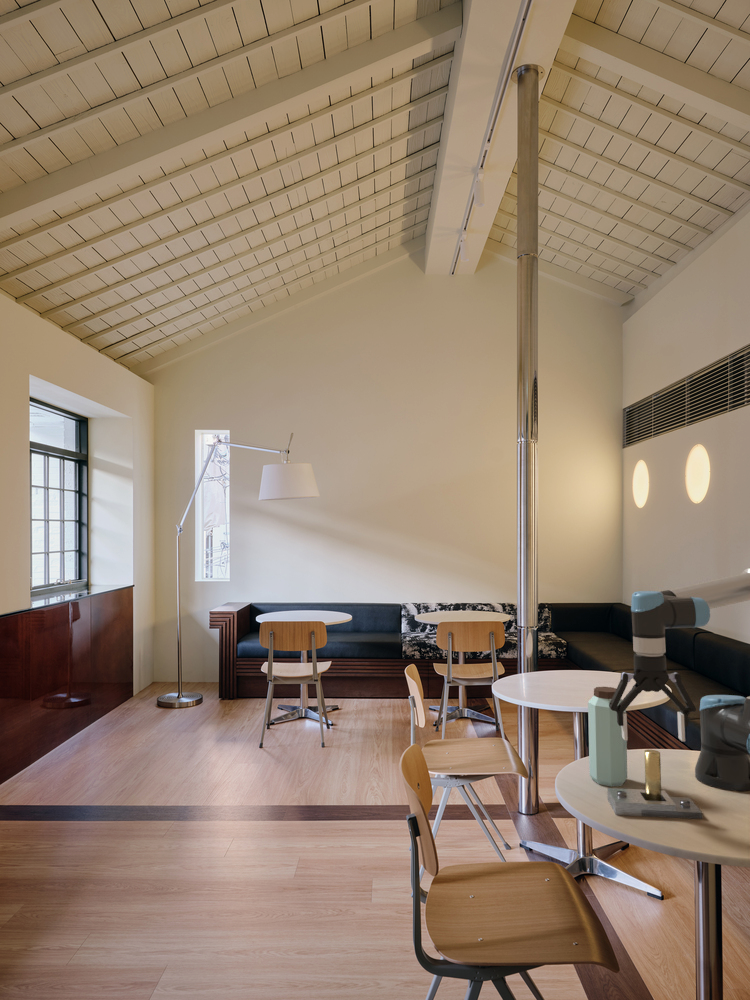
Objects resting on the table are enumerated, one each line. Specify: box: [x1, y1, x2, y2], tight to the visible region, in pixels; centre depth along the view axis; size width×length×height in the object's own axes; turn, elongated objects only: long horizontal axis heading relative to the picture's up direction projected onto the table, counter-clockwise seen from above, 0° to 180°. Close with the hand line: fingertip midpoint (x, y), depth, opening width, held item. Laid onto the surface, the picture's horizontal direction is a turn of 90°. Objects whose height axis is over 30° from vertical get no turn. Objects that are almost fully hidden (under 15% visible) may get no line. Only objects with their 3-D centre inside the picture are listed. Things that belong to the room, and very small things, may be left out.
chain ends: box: [607, 787, 703, 820], centre depth 163 cm, size 20×9×4 cm, turn 82°
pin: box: [644, 749, 662, 801], centre depth 163 cm, size 4×4×14 cm
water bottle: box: [587, 686, 628, 787], centre depth 182 cm, size 10×10×25 cm
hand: (653, 739), depth 164 cm, fingers open, 13 cm apart
